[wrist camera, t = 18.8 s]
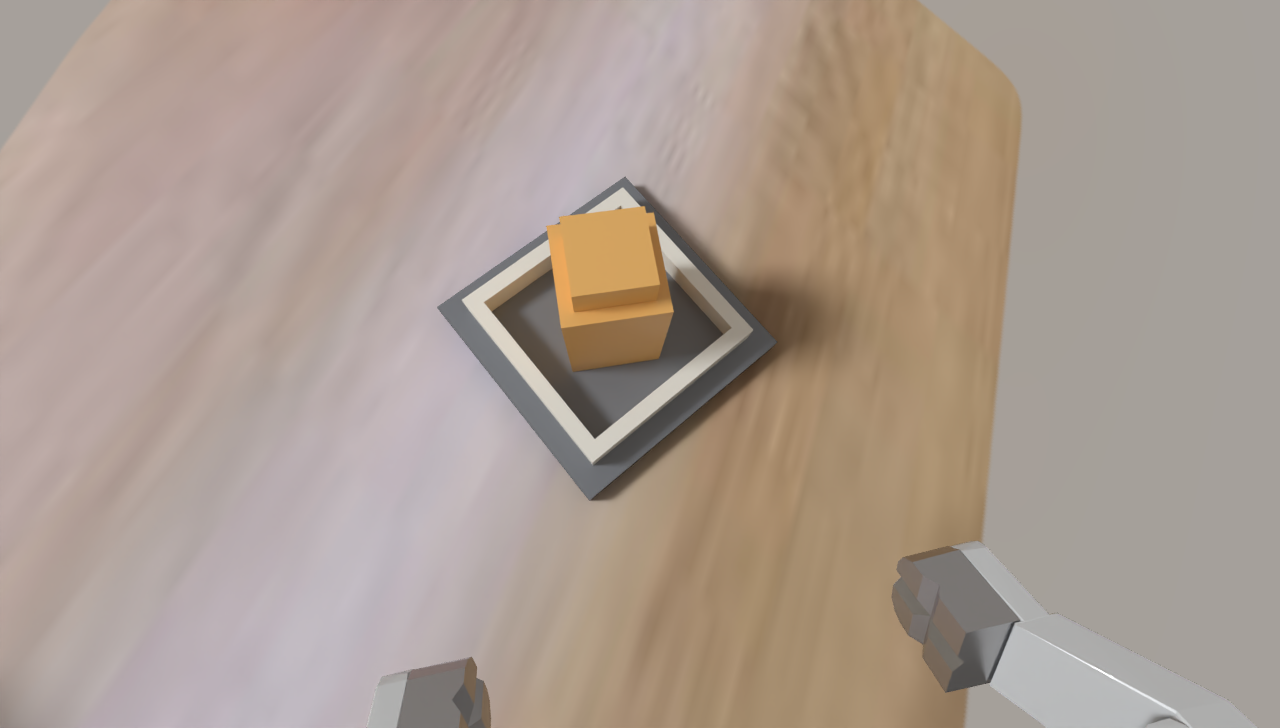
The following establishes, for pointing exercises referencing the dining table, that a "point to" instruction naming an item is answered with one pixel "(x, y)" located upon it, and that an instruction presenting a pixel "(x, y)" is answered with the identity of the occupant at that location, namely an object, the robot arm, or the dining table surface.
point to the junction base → (616, 395)
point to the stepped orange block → (610, 287)
